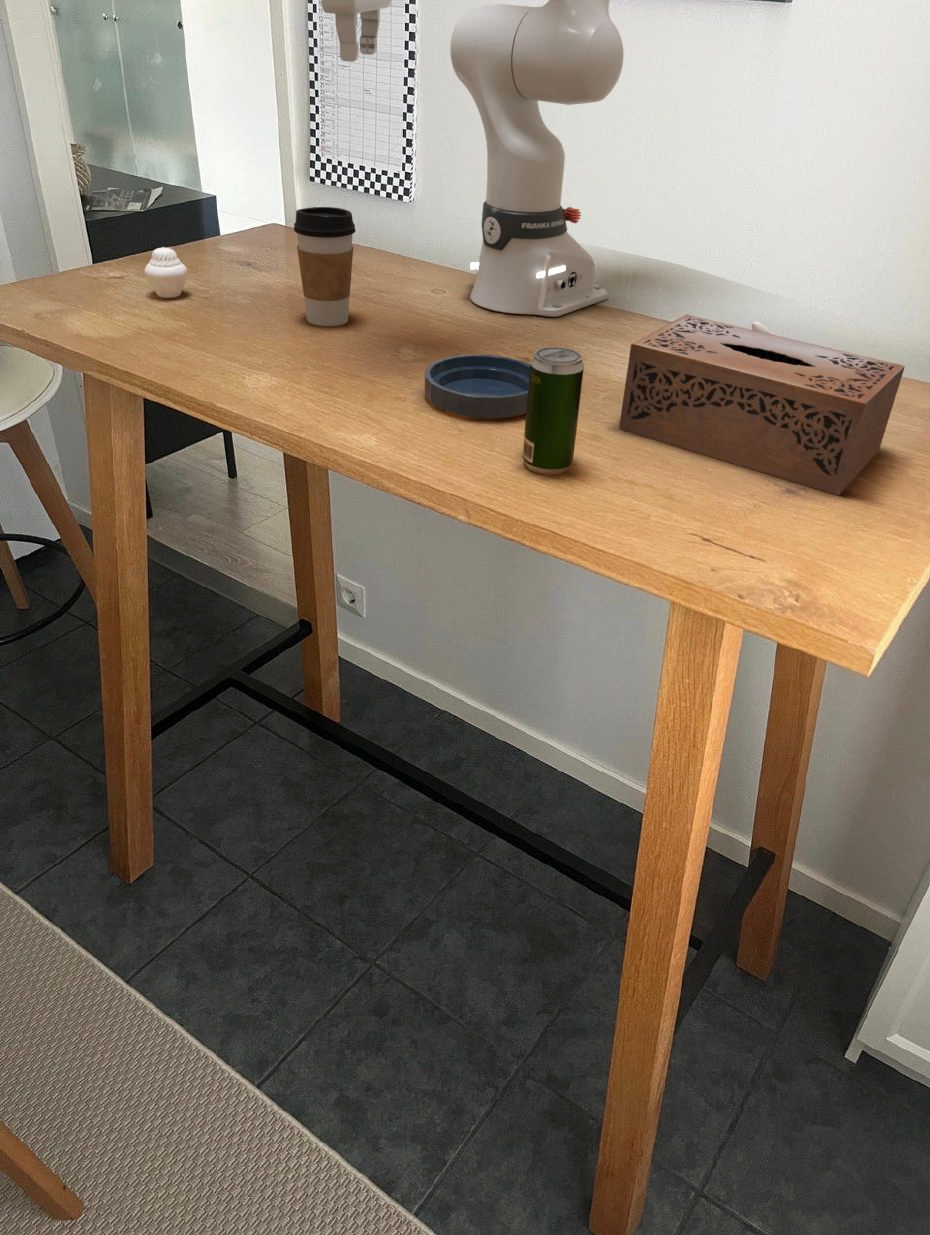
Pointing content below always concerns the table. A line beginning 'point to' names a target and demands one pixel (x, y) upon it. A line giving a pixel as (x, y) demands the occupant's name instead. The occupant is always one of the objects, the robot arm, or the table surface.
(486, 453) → the table surface
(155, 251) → the muffin
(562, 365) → the beer can
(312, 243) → the coffee cup
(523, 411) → the bowl
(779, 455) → the tissue box cover
